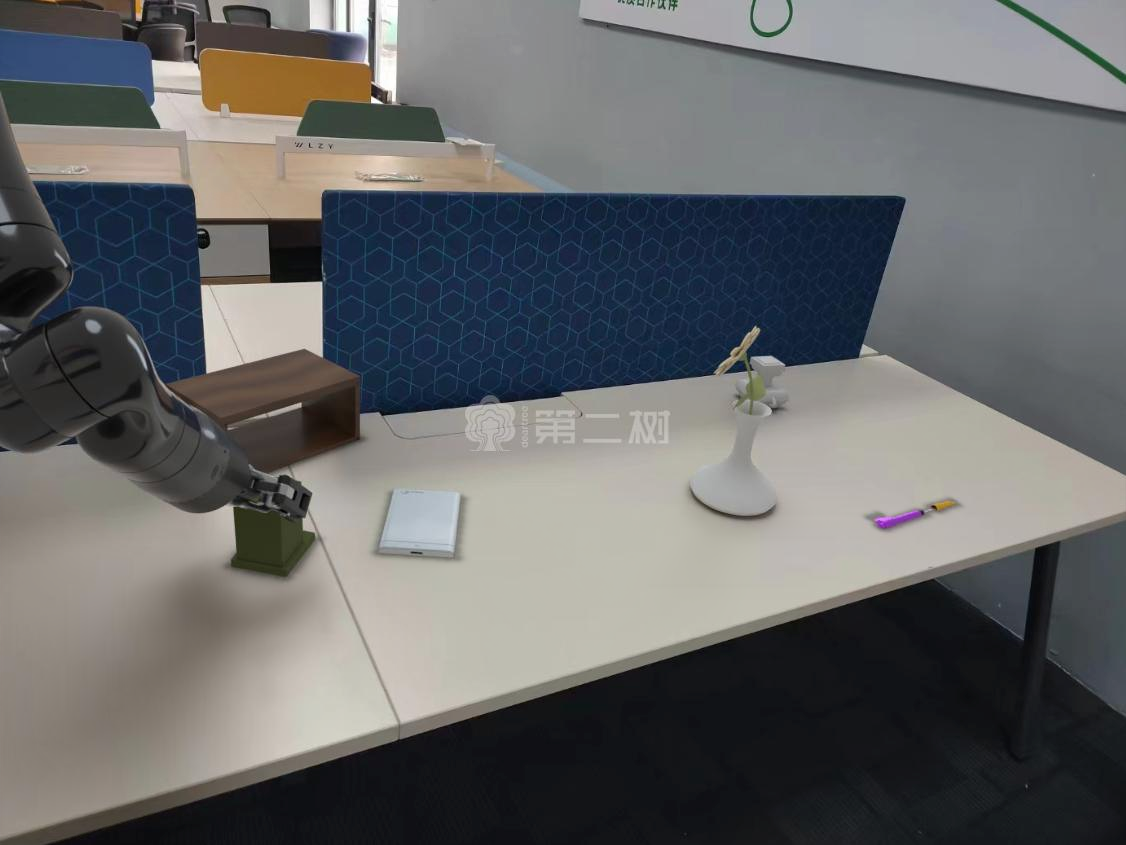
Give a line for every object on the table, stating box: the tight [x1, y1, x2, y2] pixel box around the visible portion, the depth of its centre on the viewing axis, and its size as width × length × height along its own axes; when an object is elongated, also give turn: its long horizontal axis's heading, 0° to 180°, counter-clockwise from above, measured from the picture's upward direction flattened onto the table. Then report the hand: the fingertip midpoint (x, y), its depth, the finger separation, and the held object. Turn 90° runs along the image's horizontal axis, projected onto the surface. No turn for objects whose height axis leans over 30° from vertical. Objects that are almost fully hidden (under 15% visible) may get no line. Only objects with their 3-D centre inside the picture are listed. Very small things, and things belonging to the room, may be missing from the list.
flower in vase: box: [689, 325, 777, 517], centre depth 106 cm, size 13×11×25 cm
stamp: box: [734, 355, 790, 409], centre depth 140 cm, size 9×7×8 cm
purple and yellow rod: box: [873, 500, 956, 530], centre depth 114 cm, size 3×1×16 cm
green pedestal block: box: [230, 475, 316, 578], centre depth 88 cm, size 7×6×9 cm
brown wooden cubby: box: [165, 348, 361, 475], centre depth 109 cm, size 12×20×10 cm, turn 141°
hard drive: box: [378, 488, 462, 559], centre depth 98 cm, size 2×8×12 cm
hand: (256, 505), depth 84 cm, fingers open, 8 cm apart
